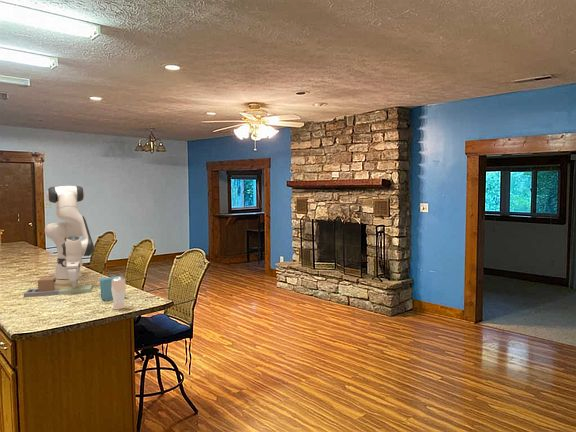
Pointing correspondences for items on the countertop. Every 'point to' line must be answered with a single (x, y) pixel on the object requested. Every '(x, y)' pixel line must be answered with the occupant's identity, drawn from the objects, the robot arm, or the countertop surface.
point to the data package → (107, 288)
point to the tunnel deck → (48, 288)
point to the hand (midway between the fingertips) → (75, 286)
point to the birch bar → (64, 285)
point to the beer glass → (118, 292)
